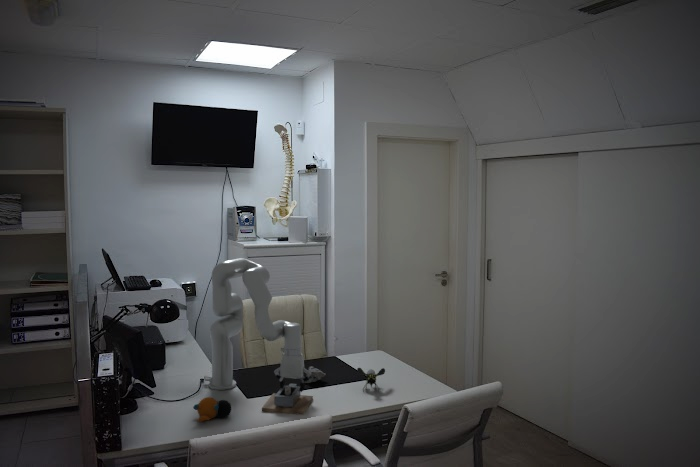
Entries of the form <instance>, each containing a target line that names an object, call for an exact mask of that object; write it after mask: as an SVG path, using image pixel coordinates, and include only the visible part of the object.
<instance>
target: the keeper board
mask: <svg viewBox="0 0 700 467" xmlns="http://www.w3.org/2000/svg"><path fill="white" fill-rule="evenodd" d="M286 386H287V387H285V396H291V387H289V385H286ZM276 394H277V393H275V392H273V393H272V394H271V395H270V396H269V398H268V399H267V401H266V402H265V403H264V404H263V406H262V407H261V412H262V413H263V412H267V413H277V414H289V415H290V414H292V415H305V413H306V412H307V411H308V409H309V407H310V405H311V403H312V401H313V396H314V395H304V394H300V397H299V399H298V400H297V402H296V403H295V405H294V406H293V407H285V406H275V405H274V396H275V395H276Z"/></svg>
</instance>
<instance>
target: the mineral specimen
mask: <svg viewBox="0 0 700 467" xmlns="http://www.w3.org/2000/svg"><path fill="white" fill-rule="evenodd" d="M307 370H308V371H309V372H311V375H310V376H309V378H308V379H307V380H306V381H305V384H311V383H314V382H317V381H319V380H322V378H323V377H325V376H326V375H327V374H326V373H324V372H323V371H322V370H321V369H318V368H315V367H314V366H309V367H308V369H307Z"/></svg>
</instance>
